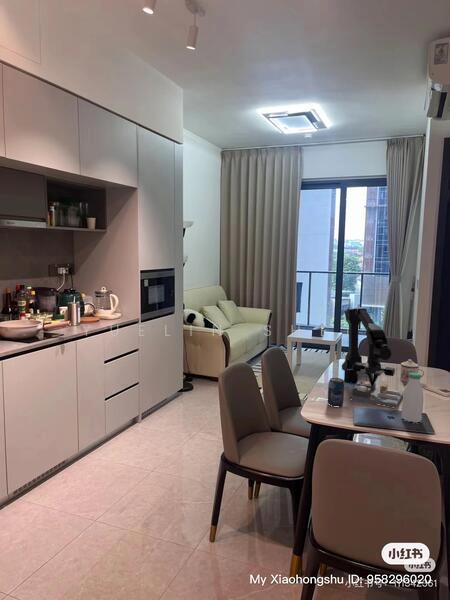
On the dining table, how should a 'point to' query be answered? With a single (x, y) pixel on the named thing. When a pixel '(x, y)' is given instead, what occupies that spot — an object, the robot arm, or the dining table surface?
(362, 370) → the bowl
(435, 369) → the dining table surface
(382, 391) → the upright wooden block
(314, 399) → the dining table surface
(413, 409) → the milk bottle
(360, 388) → the button grey
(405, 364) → the teacup with lid
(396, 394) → the control panel
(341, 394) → the soda can
